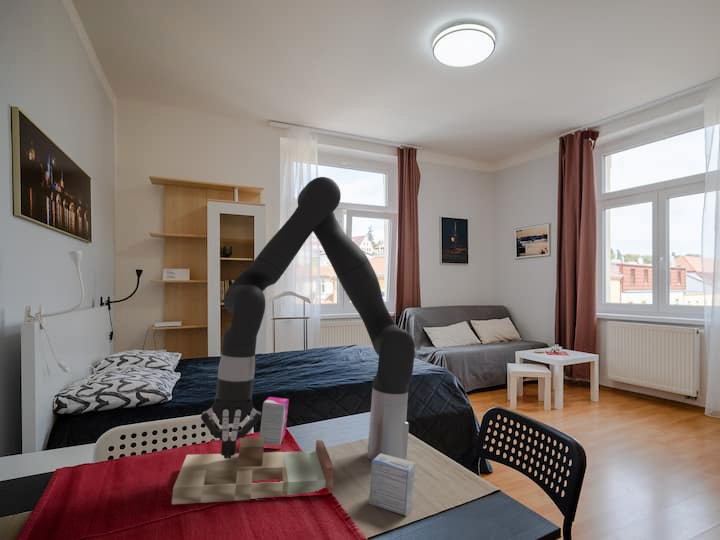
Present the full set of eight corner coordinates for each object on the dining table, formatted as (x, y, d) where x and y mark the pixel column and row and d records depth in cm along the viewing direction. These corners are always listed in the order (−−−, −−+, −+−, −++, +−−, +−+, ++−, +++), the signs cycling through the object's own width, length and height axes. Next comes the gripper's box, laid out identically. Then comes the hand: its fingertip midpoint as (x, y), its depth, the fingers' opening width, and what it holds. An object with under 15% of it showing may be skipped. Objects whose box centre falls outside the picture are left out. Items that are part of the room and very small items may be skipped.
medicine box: (413, 506, 76) (416, 462, 77) (406, 517, 72) (409, 470, 73) (376, 494, 80) (379, 452, 80) (368, 504, 75) (371, 459, 76)
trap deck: (320, 463, 91) (322, 440, 92) (331, 495, 78) (334, 467, 78) (185, 468, 84) (188, 443, 84) (171, 504, 70) (174, 473, 70)
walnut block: (262, 455, 86) (263, 437, 87) (262, 465, 82) (263, 446, 82) (239, 456, 85) (240, 437, 85) (237, 466, 80) (239, 447, 81)
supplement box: (280, 450, 97) (284, 404, 98) (257, 448, 97) (261, 402, 98) (285, 441, 103) (289, 398, 104) (263, 439, 103) (267, 396, 104)
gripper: (266, 372, 89) (259, 449, 88) (206, 370, 85) (197, 450, 84) (267, 380, 81) (259, 464, 80) (201, 378, 78) (191, 465, 77)
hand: (227, 456), depth 82 cm, fingers closed
